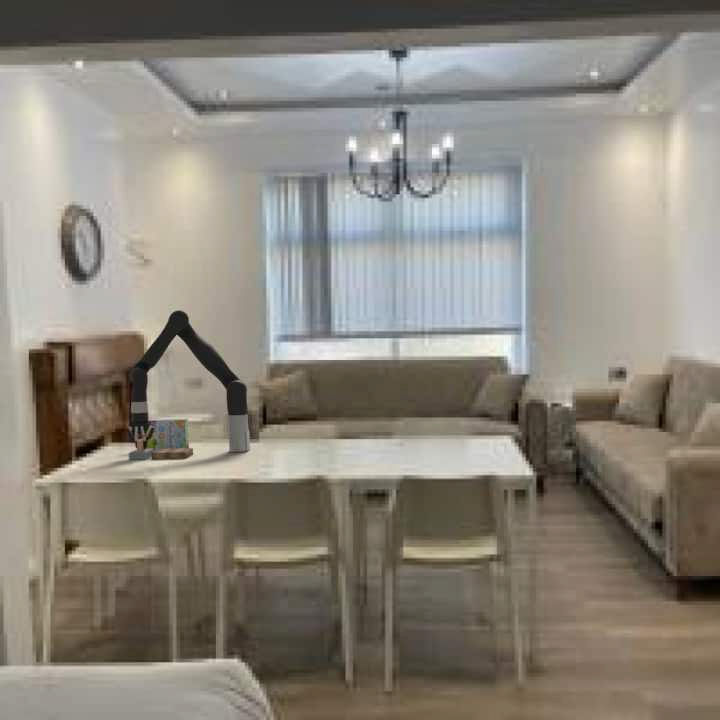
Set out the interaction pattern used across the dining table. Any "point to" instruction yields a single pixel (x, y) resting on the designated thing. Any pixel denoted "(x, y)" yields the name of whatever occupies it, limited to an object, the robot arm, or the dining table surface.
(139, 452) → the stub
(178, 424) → the snack box
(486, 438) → the dining table surface
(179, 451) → the board
